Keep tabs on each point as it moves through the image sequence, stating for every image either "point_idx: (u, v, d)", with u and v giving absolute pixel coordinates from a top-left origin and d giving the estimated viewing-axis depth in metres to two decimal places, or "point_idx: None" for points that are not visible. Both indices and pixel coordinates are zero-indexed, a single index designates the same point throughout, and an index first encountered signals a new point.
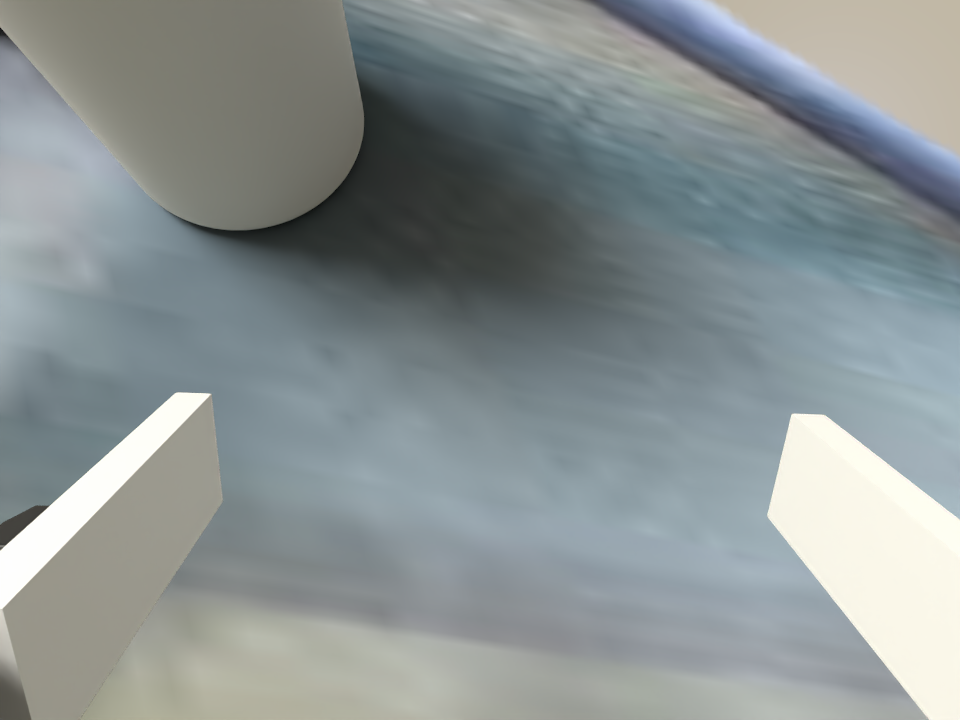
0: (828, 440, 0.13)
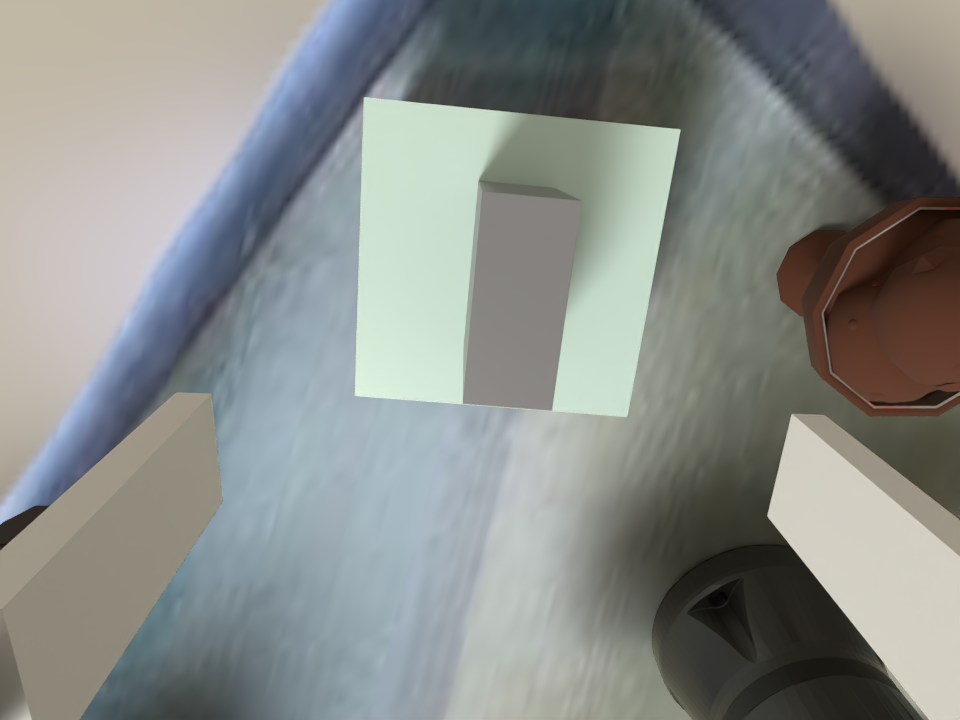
0: (828, 440, 0.13)
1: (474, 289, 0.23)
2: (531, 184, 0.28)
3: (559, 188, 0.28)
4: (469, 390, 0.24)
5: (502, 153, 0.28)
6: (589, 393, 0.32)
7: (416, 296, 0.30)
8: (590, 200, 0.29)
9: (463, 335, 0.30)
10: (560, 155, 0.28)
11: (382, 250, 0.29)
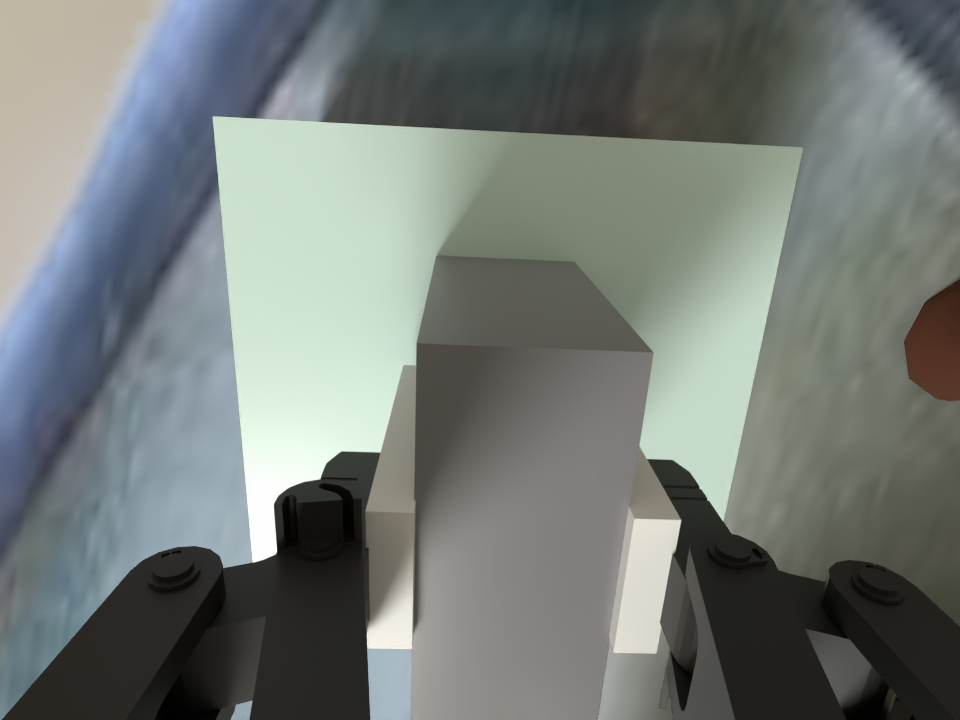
0: None
1: (416, 543, 0.10)
2: (532, 257, 0.16)
3: (582, 262, 0.16)
4: None
5: (476, 205, 0.15)
6: None
7: (343, 450, 0.17)
8: (638, 280, 0.16)
9: None
10: (582, 204, 0.15)
11: (277, 380, 0.17)
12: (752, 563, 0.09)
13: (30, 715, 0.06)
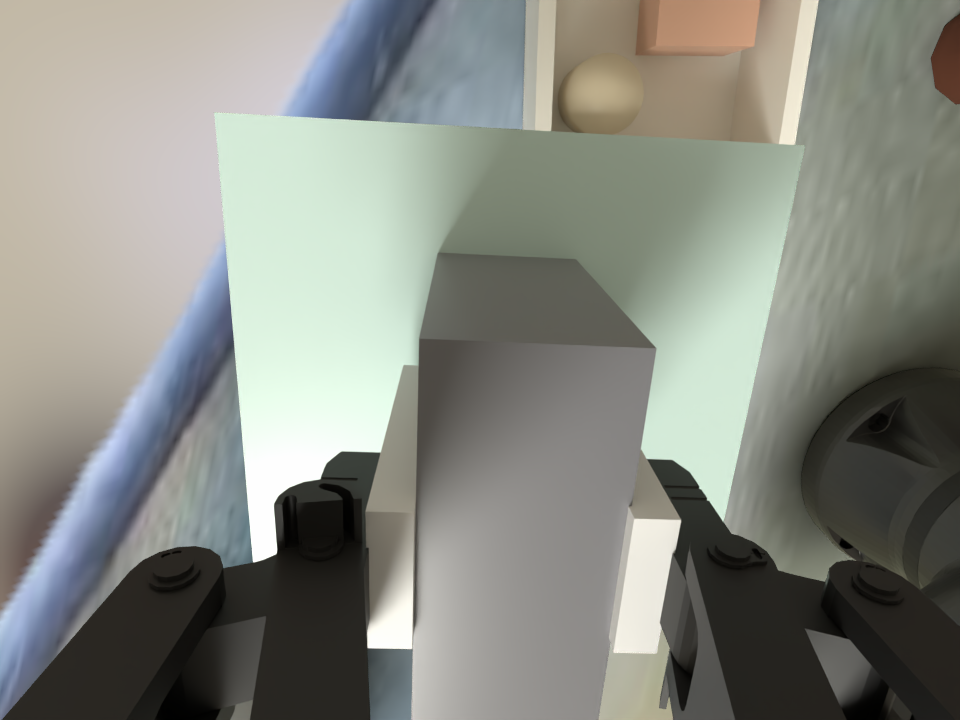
0: None
1: (417, 539, 0.10)
2: (533, 255, 0.16)
3: (584, 259, 0.16)
4: (423, 718, 0.12)
5: (477, 202, 0.15)
6: None
7: (343, 447, 0.17)
8: (640, 277, 0.16)
9: None
10: (584, 202, 0.15)
11: (277, 377, 0.17)
12: (752, 562, 0.09)
13: (30, 715, 0.06)
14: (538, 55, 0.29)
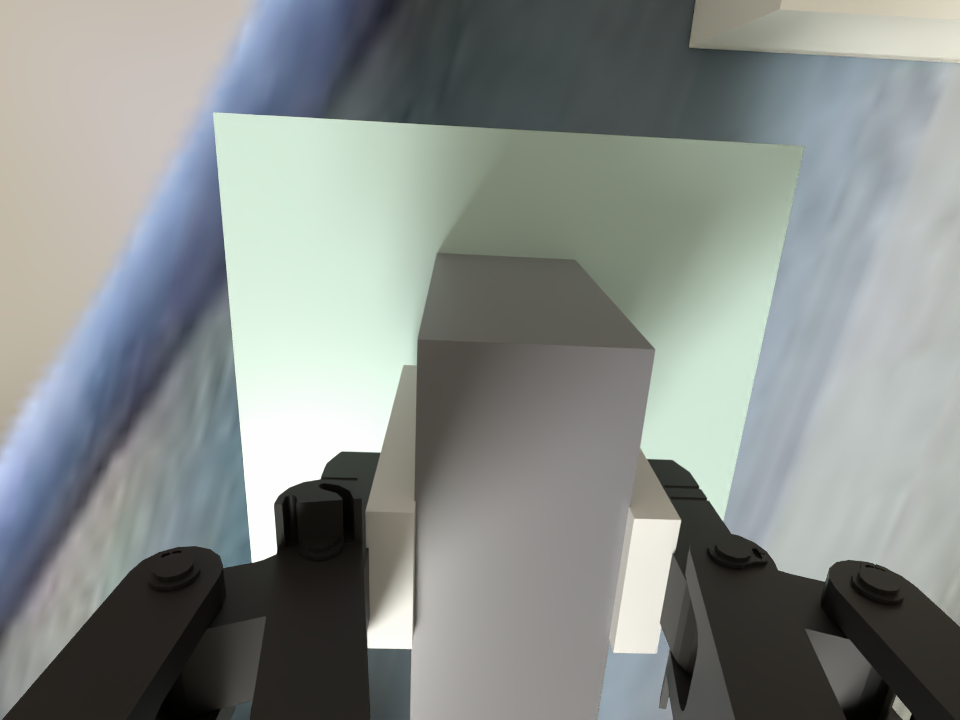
0: None
1: (416, 540, 0.10)
2: (532, 255, 0.16)
3: (583, 260, 0.16)
4: (421, 719, 0.12)
5: (477, 203, 0.15)
6: None
7: (342, 448, 0.17)
8: (639, 278, 0.16)
9: None
10: (583, 202, 0.15)
11: (276, 377, 0.17)
12: (752, 563, 0.09)
13: (30, 715, 0.06)
14: None
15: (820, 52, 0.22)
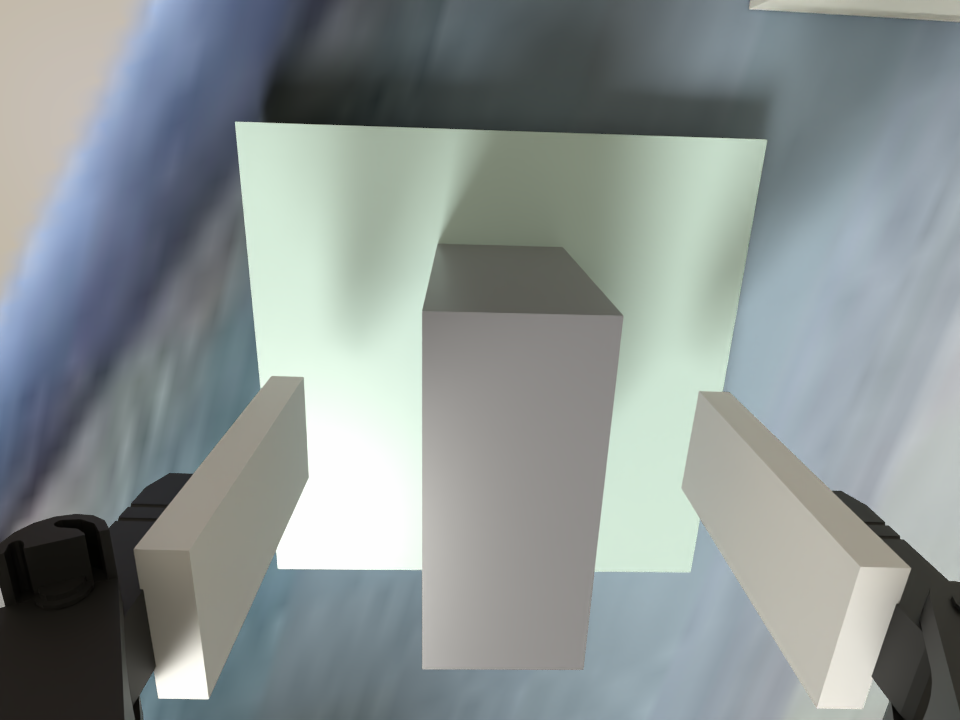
0: (724, 414, 0.14)
1: (424, 486, 0.12)
2: (524, 244, 0.17)
3: (570, 247, 0.17)
4: (432, 648, 0.13)
5: (472, 197, 0.17)
6: (632, 543, 0.21)
7: (355, 424, 0.19)
8: (621, 262, 0.18)
9: None
10: (569, 195, 0.17)
11: (294, 360, 0.18)
12: None
13: None
14: None
15: (923, 15, 0.17)
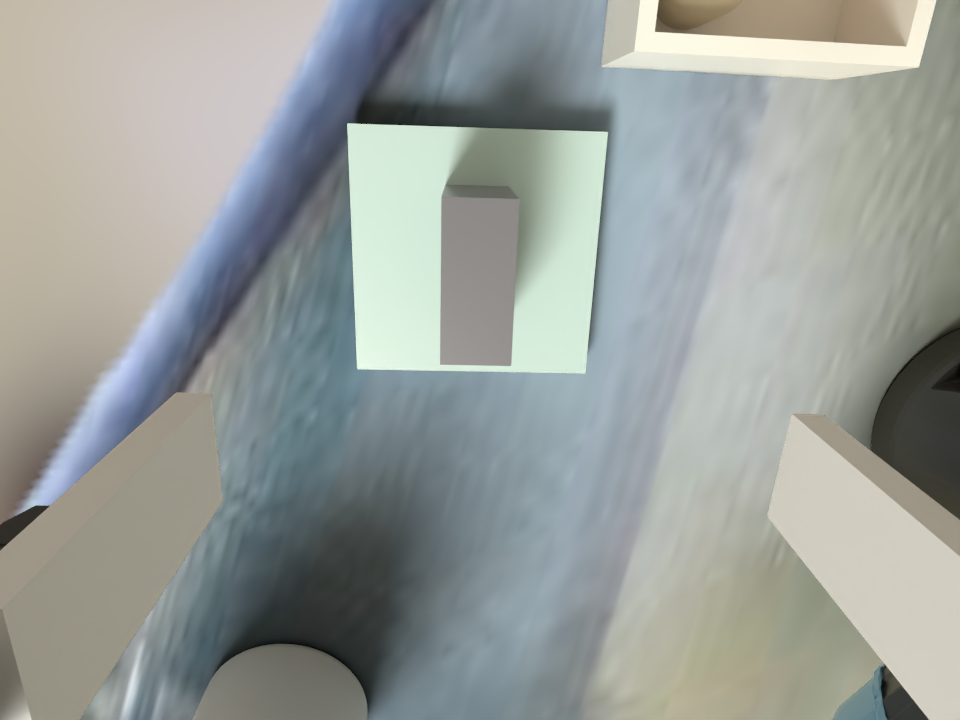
0: (828, 440, 0.13)
1: (441, 273, 0.29)
2: (489, 185, 0.34)
3: (512, 186, 0.34)
4: (444, 353, 0.30)
5: (463, 161, 0.34)
6: (551, 355, 0.38)
7: (401, 283, 0.36)
8: (538, 194, 0.35)
9: None
10: (511, 159, 0.34)
11: (371, 247, 0.35)
12: None
13: None
14: None
15: (686, 70, 0.34)
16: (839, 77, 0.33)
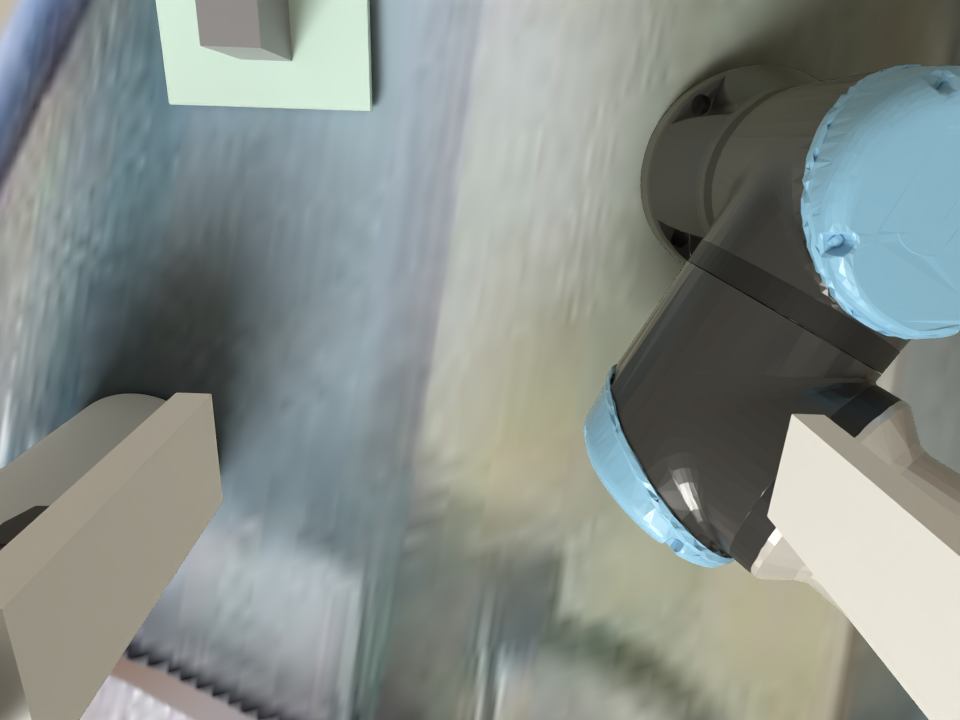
0: (828, 440, 0.13)
1: None
2: None
3: None
4: (202, 34, 0.36)
5: None
6: (338, 92, 0.44)
7: None
8: None
9: None
10: None
11: None
12: None
13: None
14: None
15: None
16: None
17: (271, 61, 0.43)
